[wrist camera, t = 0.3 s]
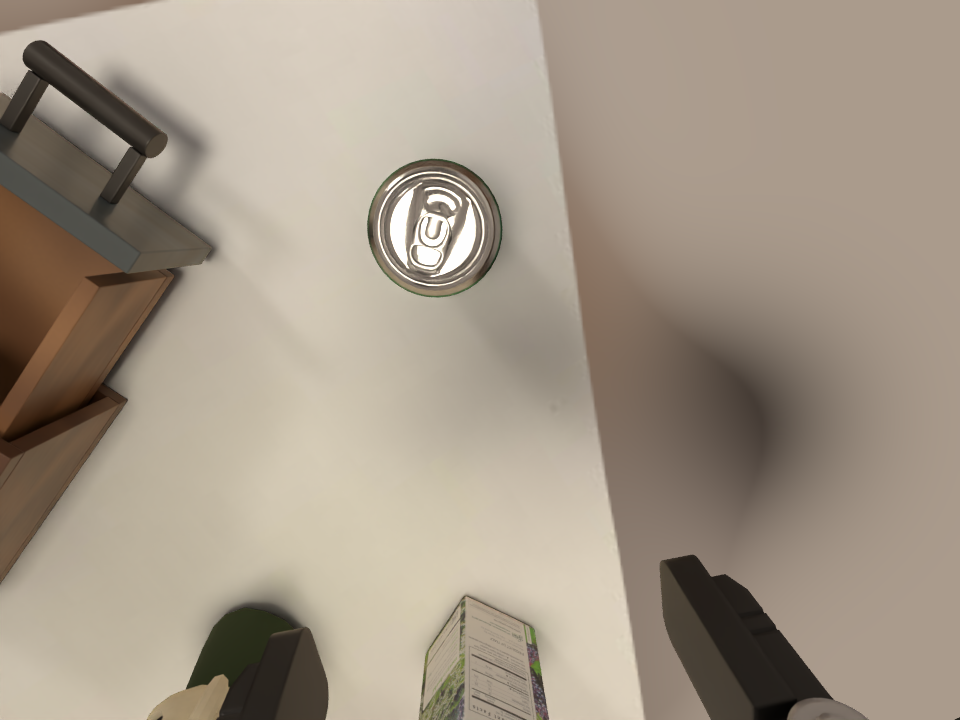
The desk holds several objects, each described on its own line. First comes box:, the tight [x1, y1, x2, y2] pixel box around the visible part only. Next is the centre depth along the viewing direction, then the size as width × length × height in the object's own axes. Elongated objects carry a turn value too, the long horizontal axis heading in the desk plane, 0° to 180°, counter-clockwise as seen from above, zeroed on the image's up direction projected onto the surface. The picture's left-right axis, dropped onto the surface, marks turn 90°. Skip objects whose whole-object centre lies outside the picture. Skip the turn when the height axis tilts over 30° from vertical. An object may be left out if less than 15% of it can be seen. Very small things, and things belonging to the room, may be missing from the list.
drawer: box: [0, 40, 212, 443], centre depth 26 cm, size 20×12×7 cm, turn 141°
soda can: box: [367, 159, 502, 297], centre depth 24 cm, size 5×5×12 cm
